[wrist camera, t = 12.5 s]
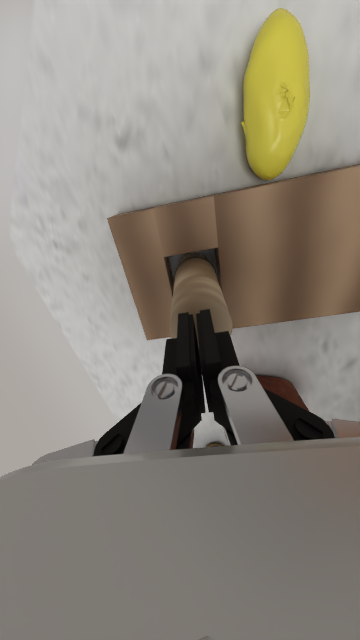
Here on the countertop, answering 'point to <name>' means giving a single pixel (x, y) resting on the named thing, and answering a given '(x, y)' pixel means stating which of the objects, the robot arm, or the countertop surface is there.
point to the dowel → (198, 294)
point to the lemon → (275, 94)
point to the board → (252, 249)
